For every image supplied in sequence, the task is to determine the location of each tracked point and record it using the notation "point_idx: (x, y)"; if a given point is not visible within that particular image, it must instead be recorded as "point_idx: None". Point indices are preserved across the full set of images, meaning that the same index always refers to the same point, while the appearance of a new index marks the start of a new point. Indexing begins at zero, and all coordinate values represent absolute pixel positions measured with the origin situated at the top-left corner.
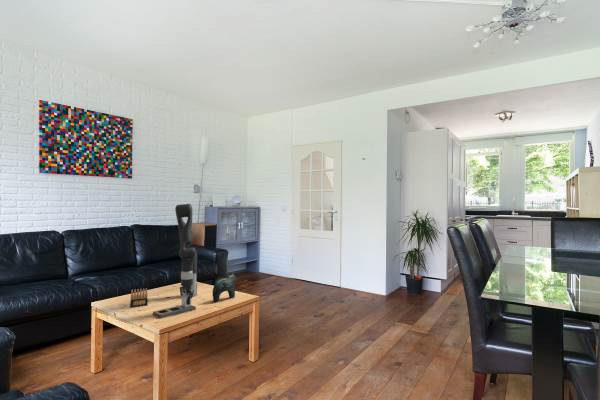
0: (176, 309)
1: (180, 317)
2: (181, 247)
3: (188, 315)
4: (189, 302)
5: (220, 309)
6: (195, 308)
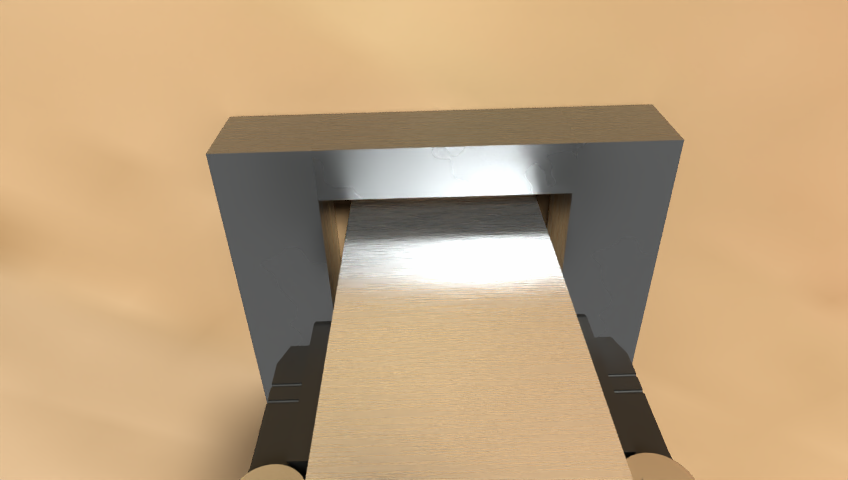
0: None
1: (758, 477)
2: None
3: (808, 375)
4: (621, 382)
5: None
6: (664, 128)
